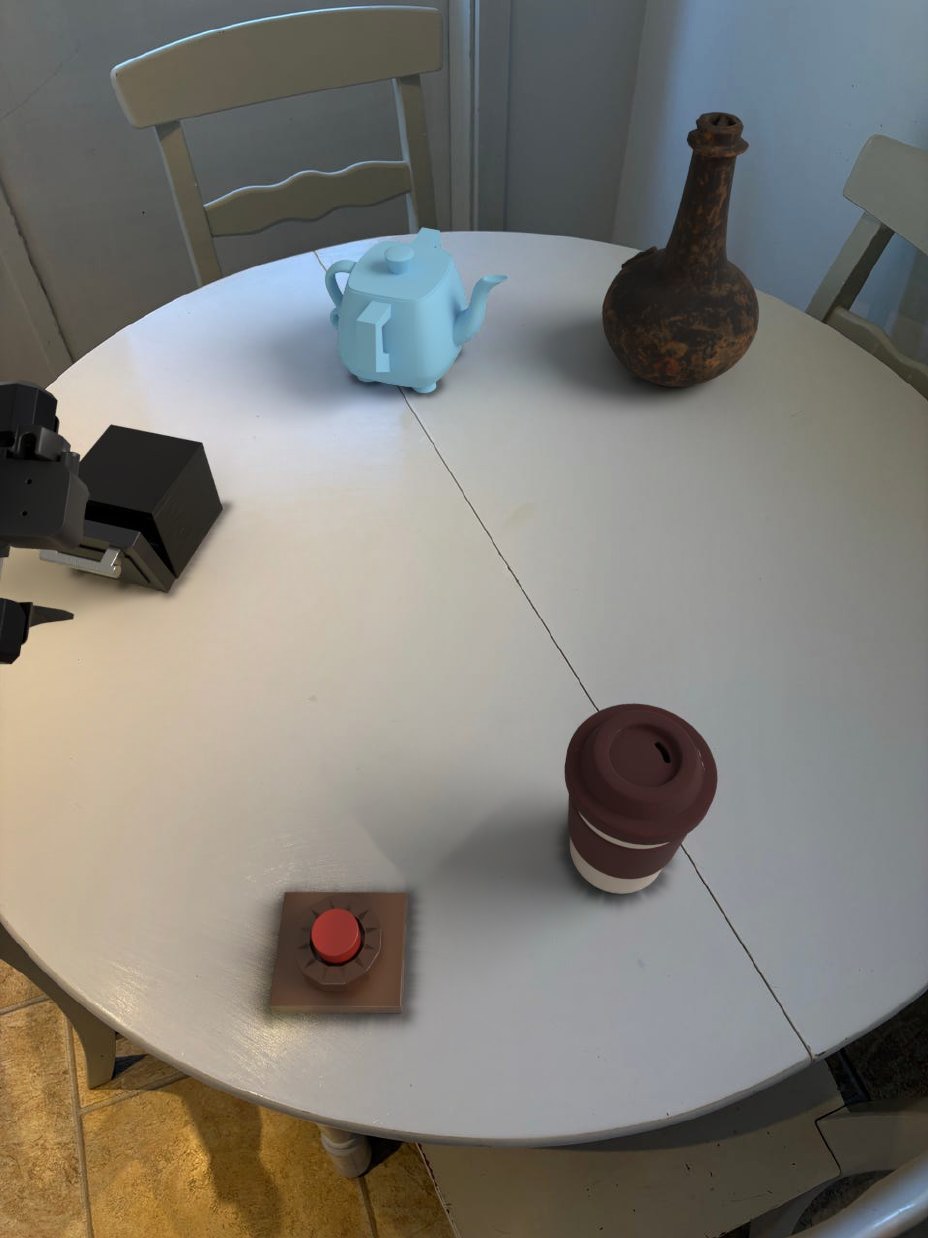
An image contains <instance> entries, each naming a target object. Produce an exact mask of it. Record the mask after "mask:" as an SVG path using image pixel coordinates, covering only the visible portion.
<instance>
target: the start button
mask: <svg viewBox="0 0 928 1238" xmlns="http://www.w3.org/2000/svg"><path fill="white" fill-rule="evenodd" d="M311 936H312V941H313V944H314V946H315V949H316V951H317V953H318V955H319V956H320V957H321V958H322V959H323V960H325V961H327V962H329V963H342V962H345V961H347V960H349V959H350V958H351V957H353V956H354V955H355V953H356V952H357V950H358V948H359V946H360V942H361V934H360V930H359V927H358V923H357V921H356V919H355V917H354V916H353V915H352V914H351V913H349V912H348V911H346V910H343V909H331V910H328V911H326V912H324V913H323V914H321V915H320V916H319V917H318V918H317V919H316V921H315V923H314V925H313V927H312V932H311Z"/></svg>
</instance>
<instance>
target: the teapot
mask: <svg viewBox="0 0 928 1238" xmlns="http://www.w3.org/2000/svg"><path fill="white" fill-rule="evenodd" d="M441 240H442V239H441V231H440V230H438V229H433V228H427V227H421V228H420V229H419V231H418V233H417V234H416V236H415V237H414V238H413V240H412V241H411V242H404V241H395V240H383V241H379V242H377V243H375V244H374V245H373V246H371V247H370V248H369V249H368V250H367V251H366V252H364V254H363V255H362V256H361V257H360V258H359V259H358V260H357V262H356V261H354V260H350V259H341V260H338V261H336V262H334V263H333V264H331V265H330V266H329V267H328V268H327V270H326V272H325V276H324V285H325V289H326V291H327V293H328V295H329V297H330V299H331V301H332V302H333V304H334V306H335V307H334V308H333V309H332V310H331V311H330V314H329V322H330V324H331V325H332V327H333V328H334V329H336V330H337V348H338V349H337V350H338V355H339V358H340V360H341V362H342V363H343V365H344V366H345V368H346V369H347V370H348V371H349V372H350V373H351V374H352V375H354V376H356V378H357V379H358V380H359V381H361V382H364V383H372V382H377V383H383V384H389V385H394V386H399V387H407V388H412V390H413V391H414V392H416V393H418V394H419V393H420V394H429V393H432V392H433V391H434V390H436V389H437V383H436V382H438V381H439V380H440V379H441V378H442V377H443V376H444V375H445V374H446V373H447V372H448V370H449V369H450V368H452V365H454V363H455V361H456V359H457V358H458V356H459V355H460V353H461V351H462V348H463V346H464V344H466V343H468V342H470V341H471V340H472V339H474V338H475V337H476V335H477V334H478V333H479V331H480V330H481V328H482V326H483V323H484V320H485V315H486V310H487V309H486V308H487V302H488V297H489V294H490V293H491V291H492V290H493V288H495V287H496V286H498V285H499V284H502V283H503V282H505V281H507V280H508V278H509V277H508V276H507V275H505V274H490V275H485V276H483V277H481V278H479V280H477V282H475V284H474V286H473V289H472V292H471V296H470V300H469V305H468V300H467V296H466V291H465V288H464V283H463V281H462V278H461V274H460V272H459V270H458V267H457V264H456V262H455V260H454V258H453V255H452V254H451V253H450V252H449V251H448V250H446V249H443V248H442V241H441ZM338 273H344V274H345V273H346V274H349V275H348V278H347V280H346V284H345V287H344V290H343V292H342V290H341V289H340V287H339V284H338V281H337V278H336V274H338Z"/></svg>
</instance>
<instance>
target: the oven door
mask: <svg viewBox="0 0 928 1238" xmlns="http://www.w3.org/2000/svg"><path fill="white" fill-rule="evenodd" d="M38 558H39V560H40V561H42V562H45V563H49V564H50V563H51V564H55V565H58V566H64V567H68V568H71V569H75V570H76V571H77V572H80V573H84V574H88V575H92V576H97V577H102V578H105V579H109V580H114V581H119V582H122V583H127V584H131V585H136V586H139V587H144V588H149V589H152V590H156V591H162V592H165V593H170V591H171V589H172V587H173V584H174V583H175V581H176V578H174V576H173V575H172V574H171V572H170V571H169V570H168V568H167V567H166V566H165V564H164V563H163V562H162V560H161V559H160V558H159V556H158V555H157V554H156V552H155V551H154V550H153V548H152V547H151V546H150V544H149V543H148V542H147V540H146V539H145V538H144V536H143V535H142V534H141V532H139V531H134V530H130V529H125V528H121V527H116V526H112V525H107V524H103V523H98V522H94V521H89V520H85V519H84V523H83V538H82V541H81V543H80V545H79V546H78V547H77V548H75V549H74V550H71V551H66V552H63V551H55V550H42V549H39V552H38Z"/></svg>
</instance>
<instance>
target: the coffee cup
mask: <svg viewBox="0 0 928 1238" xmlns="http://www.w3.org/2000/svg"><path fill="white" fill-rule="evenodd" d="M563 768H564V769H563V771H564V773H563V774H564V782H565V788H566V791H567V792H568V801H567V802H568V804H567V805H568V807H567V827H568V834H569V851H570V852H569V853H570V855H571V859H572V861H573V864H574V866H575V868H576V869H577V871H578V872H579V874H580V875H581V876H582V877H583V878H584V879H585V880H586V881H587V882H588V883H590V884H591V885H592V886H594V887H595V888H598V889H600V890H601V891H605V892H608V893H612V894H621V895H622V894H631V893H635V892H639V891H641V890H643V889H645V888H647V887H648V886H649V885H651V884H652V883H653V882H654V881H655V880H656V879H657V877H658V876H659V875H660V873H661V871H662V870H663V869H664V868H665V867H666V866H667V865H668V864H669V863H670V862H671V861H672V859H673V858H674V856H675V855H676V853H677V851H678V850H679V848H680V847H681V845H682V844H683V842H684V840H685V839H686V837H687V836H688V834H690V833H691V832H692V831H693V830H695V829H696V828H697V827H698V826H700V824H701V823H702V821H703V820H704V819H705V817H706V816H707V814H708V812H709V810H710V808H711V806H712V804H713V802H714V799H715V796H716V793H717V788H718V781H719V780H718V777H719V776H718V769H717V763H716V760H715V757H714V754H713V752H712V750H711V748H710V747H709V744H708V743H707V741H706V739H705V738H704V737H703V736H702V734H700V733H699V731H698V730H697V729H696V728H695V727H694V726H693V725H691V724H690V723H689V722H688V721H687V720H685V719H684V718H683V717H681V716H679V715H677V714H676V713H674V712H672V711H670V710H667V709H664V708H662V707H659V706H655V705H650V704H644V703H622V704H616V705H611V706H608V707H605V708H602V709H600V710H599V711H597V712H595V713H593V714H591V715H590V716H589V717H587V719H585V720H584V721H583V722H581V724H579V726H578V727H577V728H576V730H575V731H574V733H573V734H572V736H571V738H570V740H569V743H568V745H567V748H566V755H565V760H564V767H563Z"/></svg>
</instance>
